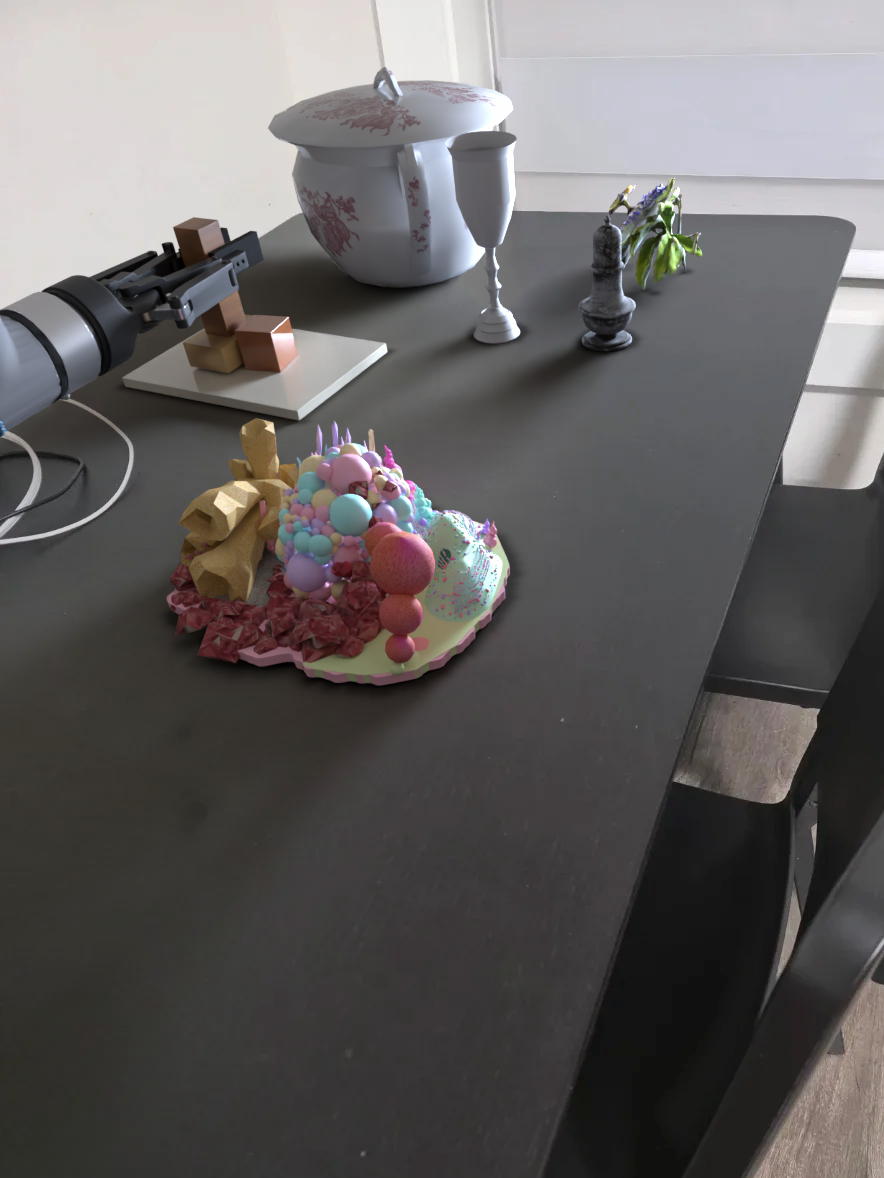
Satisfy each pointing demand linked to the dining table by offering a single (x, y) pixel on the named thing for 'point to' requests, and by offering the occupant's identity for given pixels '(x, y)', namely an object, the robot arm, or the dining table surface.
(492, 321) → the chalice
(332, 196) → the chamber pot
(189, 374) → the tile
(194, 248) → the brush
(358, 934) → the dining table surface
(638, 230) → the passion flower
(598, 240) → the salt shaker
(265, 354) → the clay cube
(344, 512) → the pastel sphere sculpture
